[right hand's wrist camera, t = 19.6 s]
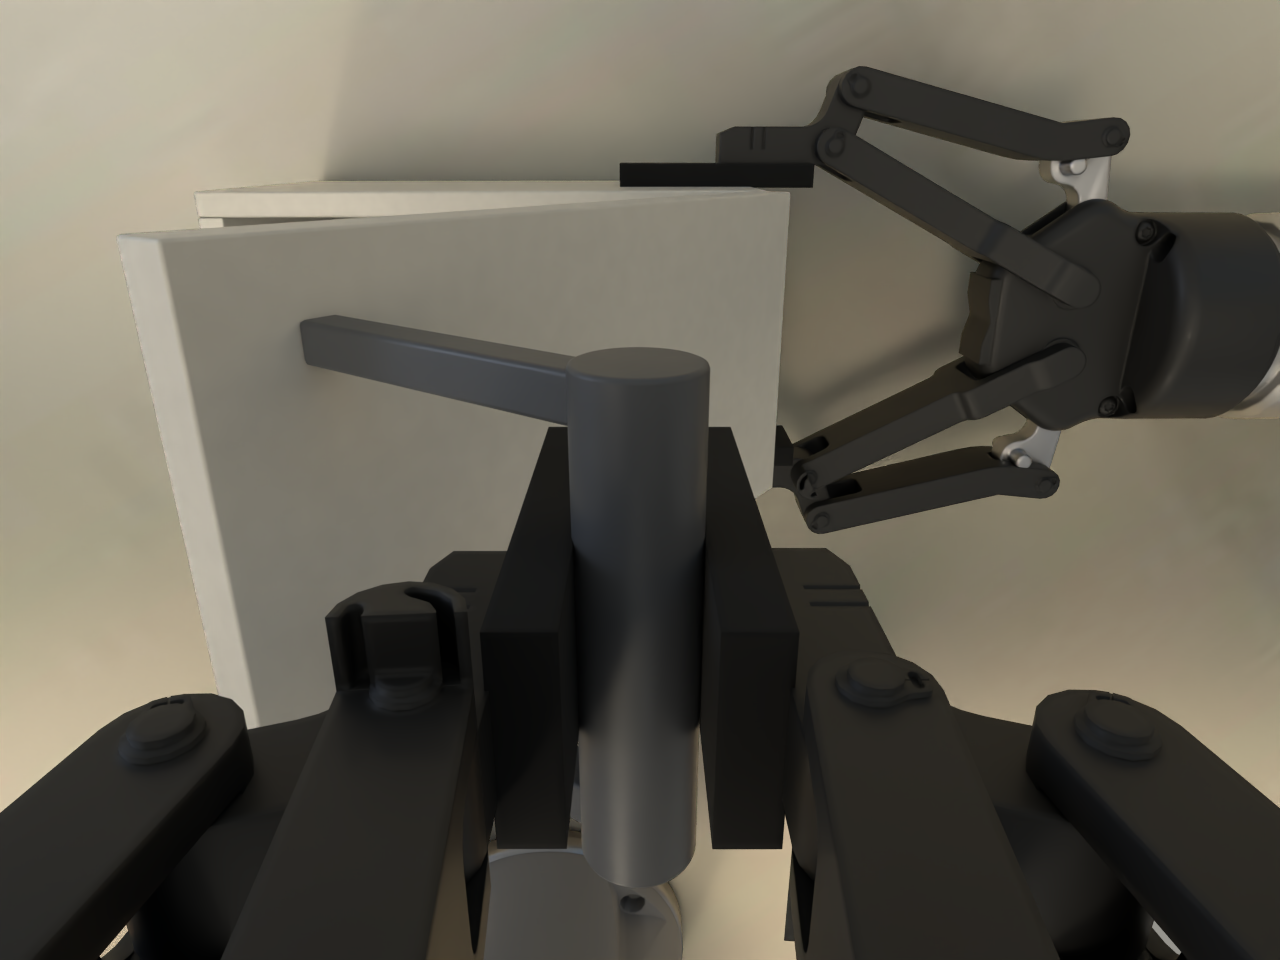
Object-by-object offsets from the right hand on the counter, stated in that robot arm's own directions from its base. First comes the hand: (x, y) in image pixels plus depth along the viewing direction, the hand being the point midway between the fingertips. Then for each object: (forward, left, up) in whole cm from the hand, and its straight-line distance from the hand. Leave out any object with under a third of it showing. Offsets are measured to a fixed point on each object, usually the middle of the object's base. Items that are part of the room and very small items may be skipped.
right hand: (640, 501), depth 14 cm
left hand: (0, +1, -18) cm, 18 cm away
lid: (-1, +2, -6) cm, 6 cm away
